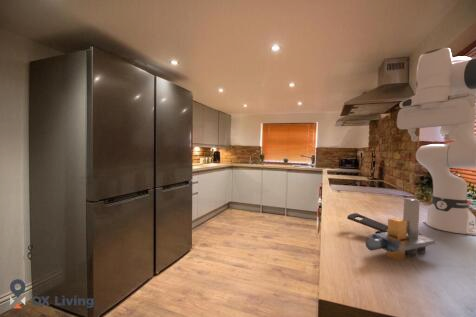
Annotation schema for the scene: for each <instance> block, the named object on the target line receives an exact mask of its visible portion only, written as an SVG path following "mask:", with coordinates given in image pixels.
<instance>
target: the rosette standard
mask: <svg viewBox="0 0 476 317" xmlns="http://www.w3.org/2000/svg"><path fill="white" fill-rule="evenodd" d="M420 205H421V201H420V200H419V199H417V198H416V199H415V198H406V197H405V198H403V215H402V216H403V217H402V219H403V220H406V240H405V241H401V240H399V239H397V238H394V237H391V236H388V232H383V233H377V234H375V233H371V234H369V238H368V239H366V240H365V243H364V244H365V247H366V248H367V249H368V250H369V251H376V250H381V249H383V250H384V251H386V252H387V251H389V252H396V251H405V256H408V257H413V258H414V257H415V258H416V257H418V253H417V248H419V247H424V246H426V247H427V246H432V245H433V246H434V245H436V243H437V242H436V241H437V240H436V239H434V238H430V237H427V236H424V235H422V234H421V235H422V236H421V235H418V234H419V224H420Z"/></svg>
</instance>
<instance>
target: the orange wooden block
mask: <svg viewBox="0 0 476 317" xmlns="http://www.w3.org/2000/svg"><path fill="white" fill-rule="evenodd" d="M387 226H388V229H387V230H388V236H391V237H394V238H397V239H399V240H401V241H405V240H406V220H403V218H399V217H392V218H388V220H387ZM386 257H389V259H392V260H395V261H399V260H404V259H405V257H406V255H405V251H396V252H389V251H387V250H386Z"/></svg>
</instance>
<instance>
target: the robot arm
mask: <svg viewBox="0 0 476 317" xmlns="http://www.w3.org/2000/svg"><path fill="white" fill-rule="evenodd" d="M415 79H416V81H415V83H416V89H415V94H414V95H413V96H412V95H411V97H409V98H406V99H404V100H402V101H401V102H399V108H400V109H399V111H398V113H397V118H396V127H397V128H398V129H399V130H407V133H408V134H409V136H410V141H411V142H419V140H420V139H419V138H420V135H416V133H415V132H416V130H417V129H424V128H436V127H437V128H438V127H440V130H439V133H440V134H441V136H442V137H443V138H444V140H445V141H452V142H453V141H454V142H453V143H432V144H426V145H421V146H420V147H419V148H417V150H416V151H415V152H416V153H415V160H416V161H417V163H418V164H420V165H421V166H422V167H424V168H425V169H426V170H427V171H428V173H429V174H430V175H431V179H432V189H433V192H432V195H431V199H430V200H431V201H430V202H431V205H429V206H428V207H427V212H426V219H423V223H424V224H426V225H427V226H428V227H430V228H433V229H436V230H439V231H440V230H441V231H444V232H449V233H454V234H455V233H456V234H464V235H471V236H476V216H475V215H474V214H473V212H472V211H471V210H470V209H469V207H470V206H469V205H471V203H472V201H471V200H470V199H467V197H468V196H467V195H468V184H467V182H466V180H465V179H464V178H462V177H461V176H460V177H459V175H458V176H457V175H456V174H453V173H452V172H451V169H452V168H453V169H468V170H469V169H476V134H475V122H476V57H475V56H474V57H468V56H455V57H453V56H452V52H451V48H449V47H440V48H436V49H431V50H428V51H426V52H424V53H422V54H420V56H419V58H418V62H417V67H416V78H415Z"/></svg>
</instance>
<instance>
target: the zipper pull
mask: <svg viewBox="0 0 476 317" xmlns="http://www.w3.org/2000/svg"><path fill="white" fill-rule="evenodd" d="M357 218H359V219H357ZM346 219H347V220H350V221H352V222H356V223H357V224H361V225H363V226H366V227H369V228H371V229H374V230H377V231H375V232H374V234H377V233H383V232H388V224H385V223H382V222H379V221H377V220H375V219H372V218H370V217H367V216H364V215H363V214H360V213H357V212H356V213H355V212H353V213H351V214H349V215H347V218H346ZM418 235H421V236H423V235H422V234H421V233H418ZM426 247H427V246H424V247H419V248H417V254H422V253H425V251H426V250H427V249H426Z"/></svg>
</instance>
